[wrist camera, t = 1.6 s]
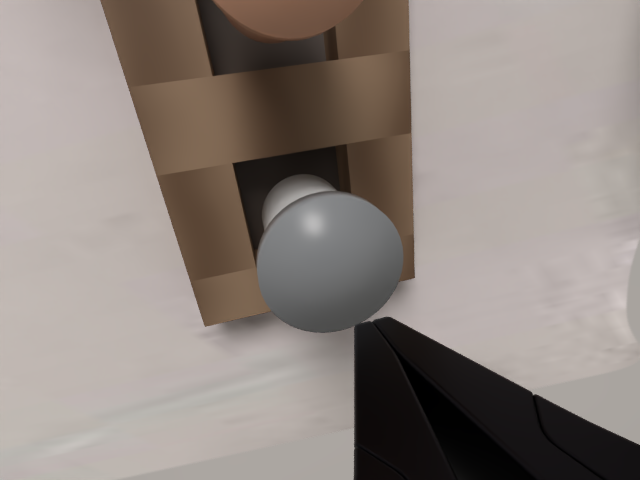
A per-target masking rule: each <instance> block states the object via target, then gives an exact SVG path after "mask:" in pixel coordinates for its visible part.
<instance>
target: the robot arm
mask: <svg viewBox="0 0 640 480" xmlns="http://www.w3.org/2000/svg"><path fill="white" fill-rule="evenodd" d="M354 447H355V449H354V480H640V445H639V444H636V443H634V442H632V441H630V440H628V439H626V438H623V437H621V436H619V435H617V434H615V433H613V432H611V431H608V430H606V429H604V428H602V427H600V426H598V425H596V424H593V423H591V422H589V421H587V420H585V419H583V418H581V417H579V416H577V415H575V414H573V413H571V412H569V411H568V410H566V409H564V408H561V407H560V406H558V405H556V404H554V403H552V402H550V401H548V400H546V399H544V398H542V397H541V396H539V395H536V394H535V395H533V394H532V392H531V391H529V390H527V389H525V388H523V387H521V386H520V385H518V384H516V383H514V382H512V381H510V380H508V379H506V378H504V377H503V376H501V375H499V374H497V373H495V372H493V371H491V370H489V369H487V368H486V367H484V366H482V365H480V364H478V363H476V362H474V361H472V360H470V359H469V358H467V357H465V356H463V355H461V354H459V353H457V352H455V351H454V350H452V349H450V348H448V347H446V346H444V345H442V344H440V343H438V342H437V341H435V340H433V339H431V338H429V337H427V336H425V335H423V334H421V333H420V332H418V331H416V330H414V329H412V328H410V327H408V326H406V325H404V324H403V323H401V322H399V321H397V320H395V319H393V318H391V317H384V318H380V319H376V320H374V321H373V322H371V321H368V322H364V323H359V324H356V325H355V328H354Z"/></svg>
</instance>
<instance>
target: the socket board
mask: <svg viewBox="0 0 640 480" xmlns="http://www.w3.org/2000/svg"><path fill="white" fill-rule="evenodd" d="M101 4H102V7H103V10H104V13H105V16H106V19H107V22H108V25H109V29H110V32H111V35H112V38H113V41H114V44H115V47H116V50H117V54H118V57H119V60H120V63H121V66H122V69H123V72H124V75H125V79H126V82H127V85H128V88H129V91H130V94H131V97H132V100H133V104H134V107H135V110H136V113H137V116H138V119H139V122H140V125H141V129H142V132H143V135H144V138H145V141H146V144H147V147H148V150H149V154H150V157H151V160H152V163H153V166H154V169H155V172H156V175H157V179H158V182H159V185H160V188H161V191H162V194H163V197H164V200H165V204H166V207H167V210H168V213H169V216H170V219H171V222H172V225H173V229H174V232H175V235H176V238H177V241H178V244H179V247H180V250H181V254H182V257H183V260H184V263H185V266H186V269H187V272H188V275H189V279H190V282H191V285H192V288H193V291H194V294H195V297H196V300H197V304H198V307H199V310H200V313H201V316H202V319H203V322H204V325H205V327H206V326H210V325H214V324H219V323H223V322H227V321H232V320H236V319H240V318H245V317H249V316H253V315H258V314H262V313H266V312H270V311H271V310H270V308H269V307H268V305H267V304H266V303H265V301H264V299H263V296H262V294H261V291H260V288H259V282H258V275H257V266H256V257H257V250H258V246H259V243H260V240H261V237H262V235H263V233H264V226H263V221H262V209H263V204H264V201H265V199H266V197H267V195H268V193H269V192H270V191H271V189H272V188H273V187H274V186H275V185H276V184H277V183H279V182H280V181H282V180H284V179H285V178H288V177H290V176H294V175H299V174H309V175H314V176H318V177H320V178H322V179H324V180H326V181H327V182H328V183H330V184H331V185H332V186H333V187H334V188H335V189H336V190H337V191H341V192H348V193H351V194H355V195H357V196H360V197H362V198H364V199H366V200H367V201H369V202H370V203H372V204H373V205H374V206H375V207H377V208H378V209H379V210H380V211H381V212H383V213H384V214H385V215H386V216H387V217H388V218H389V219H390V220H391V222H392V223H393V224H394V226H395V228H396V229H397V231H398V234H399V236H400V238H401V242H402V246H403V267H402V272H401V276H400V279H399V281H398V282H400V281H404V280H408V279H413V278H415V272H414V227H413V182H412V137H411V92H410V47H409V2H408V0H363V1H362V2H361V3H360V5H359V6H358V7H357V8H356V9H355V10H354V11H353V12H352V13H351V14H350V15H349V16H348V17H346V18H345V19H344V20H342V21H341V22H340V23H338V24H337V25H335V26H334V27H332V28H331V29H329V30H327V31H326V32H324V33H322V34H320V35H317V36H314V37H311V38H308V39H303V40H297V41H284V42H280V43H271V44H269V43H262V42H258V41H255V40H252V39H250V38H248V37H246V36H245V35H243V34H242V33H241V32H239V31H238V30H237V29H236V28H235V27H234V26H233V25H232V24H231V23H230V22H229V21H228V19H227V18H226V16H225V15H224V13H223V11H221V10H220V9H219V8H218V7H217V6H216V4H215V3H214V2H213V1H212V0H101Z"/></svg>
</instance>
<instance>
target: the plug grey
mask: <svg viewBox="0 0 640 480" xmlns="http://www.w3.org/2000/svg"><path fill="white" fill-rule="evenodd" d="M262 221H263V226H264V233H263V235H262V237H261V240H260V243H259V246H258V250H257V257H256V266H257V275H258V282H259V288H260V291H261V294H262V296H263V299H264V301H265V303H266V304H267V305H268V307H269V308H270V310H271V311H272V312H273V313H274V314H275V315H276V316H277V317H278V318H280V319H281V320H282V321H284V322H285V323H287V324H289V325H290V326H293V327H295V328H298V329H301V330H304V331H310V332H321V333H325V332H334V331H340V330H344V329H347V328H350V327H352V326H355V325H356V324H359V323H361V322H363V321H365V320H366V319H368V318H369V317H371V316H372V315H373V314H375V313H376V312H377V311H378V310H379V309H380V308H381V307H382V306H383V305H384V304H385V303H386V302H387V300H388V299H389V298H390V296H391V295H392V293H393V292H394V290H395V288H396V286H397V284H398V281H399V279H400V276H401V272H402V267H403V246H402V242H401V238H400V236H399V234H398V231H397V229H396V228H395V226H394V224H393V223H392V222H391V220H390V219H389V218H388V217H387V216H386V215H385V214H384V213H383V212H381V211H380V210H379V209H378V208H377V207H375V206H374V205H373V204H372V203H370V202H369V201H367V200H366V199H364V198H362V197H360V196H357V195H355V194H351V193H348V192H341V191H337V190H336V189H335V188H334V187H333V186H332V185H331V184H330V183H328V182H327V181H326V180H324V179H322V178H320V177H318V176H314V175H309V174H299V175H294V176H290V177H288V178H285V179H284V180H282V181H280V182H279V183H277V184H276V185H275V186H274V187H273V188H272V189H271V191H270V192H269V193H268V195H267V197H266V199H265V201H264V204H263V209H262Z"/></svg>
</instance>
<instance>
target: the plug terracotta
mask: <svg viewBox="0 0 640 480" xmlns="http://www.w3.org/2000/svg"><path fill="white" fill-rule="evenodd" d="M212 1H213V2H214V3H215V4H216V6H217V7H218V8H219V9H220V10H221V11H223V13H224V15H225V16H226V18H227V19H228V21H229V22H230V23H231V24H232V25H233V26H234V27H235V28H236V29H237V30H238V31H239V32H241V33H242V34H243V35H245V36H246V37H248V38H250V39H252V40H255V41H258V42H262V43H269V44H271V43H280V42H284V41H297V40H303V39H308V38H311V37H314V36H317V35H320V34H322V33H324V32H326V31H327V30H329V29H331V28H332V27H334V26H335V25H337V24H338V23H340V22H341V21H342V20H344V19H345V18H346V17H348V16H349V15H350V14H351V13H352V12H353V11H354V10H355V9H356V8H357V7H358V6H359V5H360V3H361V2H362V1H363V0H212Z"/></svg>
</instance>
